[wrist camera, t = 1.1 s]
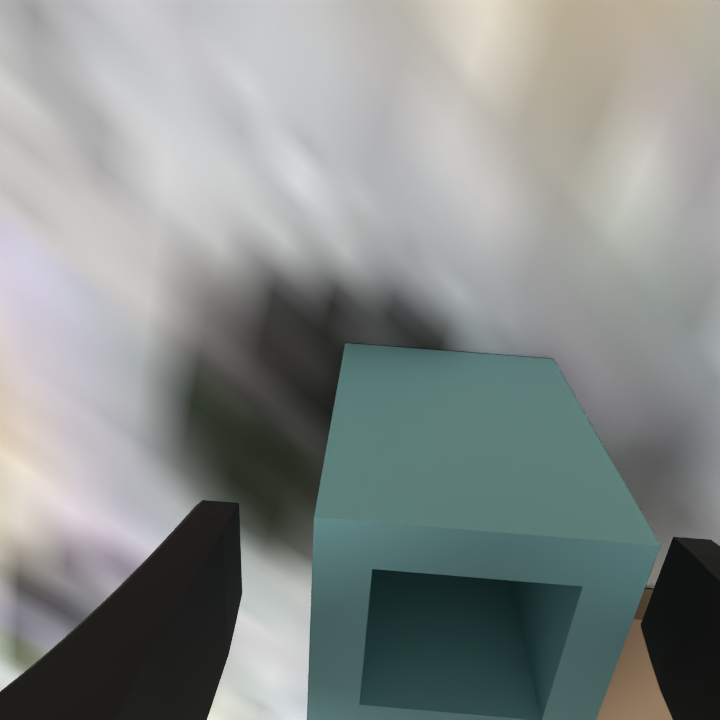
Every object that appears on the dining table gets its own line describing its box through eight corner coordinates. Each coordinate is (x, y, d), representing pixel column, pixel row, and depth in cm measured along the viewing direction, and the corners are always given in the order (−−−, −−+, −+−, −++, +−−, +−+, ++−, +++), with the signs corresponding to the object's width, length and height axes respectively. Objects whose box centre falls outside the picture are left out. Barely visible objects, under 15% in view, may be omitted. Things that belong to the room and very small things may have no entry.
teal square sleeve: (553, 358, 12) (660, 544, 7) (516, 522, 14) (582, 757, 9) (345, 342, 12) (313, 517, 8) (336, 507, 14) (306, 732, 9)
